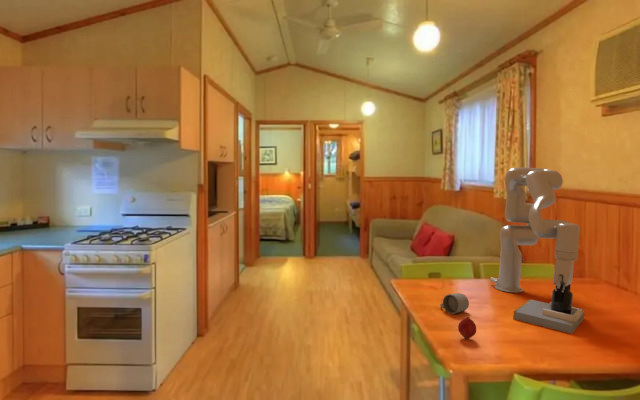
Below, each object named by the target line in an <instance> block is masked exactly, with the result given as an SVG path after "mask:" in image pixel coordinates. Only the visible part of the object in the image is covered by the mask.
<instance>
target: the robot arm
mask: <svg viewBox="0 0 640 400" xmlns="http://www.w3.org/2000/svg"><path fill="white" fill-rule="evenodd" d="M563 182H564V179H563V176H562V174H561V173H560V172H559V171H558V170H553V169H547V168H542V167H541V168H540V167H512V168H509V169H508V170H507V171H506V173H505V177H504V185H505V190H506V191H505V192H506V196H505V209H504V217H505V220H506V221H507V222H508V223H509V222H510V223H516V224H507V225H504V226H502V227H501V228H500V230H499V241H500V255H499V270H498V277H496V278H495V277H490V278H489V281H490V282H491V283H495V284H494V288H495V289H496V290H498V291H501V292H506V293H512V294H513V293H515V294H518V293H523V292H524V289H523V287H522V286H521V275H522V274H521V273H522V258H523V254H522V252H521V250H520V249H519V246H534V245H537V244H538V241H539V239H552V240H554V239H555V250H554V255H553V256H554V259H556V260H555V263H554V272H553V278H552V284H553V285H555V288H554V289H555V295H554V301H557V302H561V303H563V302H564V296H565V292H564V289H565V287H566V286H568V285H569V284H570V285H572V282H573V277H574V276H573V275H574V262H577V261H578V254H579V244H580V236H581V235H580V233H581V227H580V225H579V224H578V223H577V224H576V223H574V222H573V223H571V222H570V221H568V220H564V219H561V220H560V219H543V218H542V210H544V209H546V208H548V207H550V206H553V205H554V204H555V202H556V200H557V196H556V194H555V192H554V191H556V190H557V191H558V190H559V189H560V188H562V186H563V184H564V183H563ZM524 187H527V190H529V193H530V196H531V198H532V201H533V203H530V202H529V203H528V202H526V201H527V200H526V199H527V193H526V191H525V189H524ZM517 223H518V224H517ZM522 224H524V225H522ZM556 283H557V284H556ZM562 287H563V288H562ZM570 288H571V286H570Z"/></svg>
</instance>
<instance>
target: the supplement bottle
mask: <svg viewBox="0 0 640 400" xmlns="http://www.w3.org/2000/svg"><path fill="white" fill-rule="evenodd" d="M556 284H557V283H556ZM556 284H555V285H556ZM570 284H571V283H570ZM570 284H569V285H568V286H566V287H565V289H564V292H565V296H564V302H563V303H561V302H557V301H554V295H555V288H554V289H552V294H551V302H552V303H551V310H552V311H556V312H561V313H565V314H569V315H571V310H572V307H573V296H574V293H573V292H572V291H571V288H570V287H571V285H572V284H571V285H570ZM562 288H563V287H562Z"/></svg>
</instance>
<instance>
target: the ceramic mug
mask: <svg viewBox="0 0 640 400" xmlns="http://www.w3.org/2000/svg"><path fill="white" fill-rule="evenodd" d="M439 305H440V308H441V309H442V308H443V309H444V311H445V312H446V313H448V314H451V315H454V314H458V313H461V312H464V311H466V310H467V309H468V308H469V305H470V301H469V298H468V297H467V296H466V295H465V294H463V293H460V292H457V293H448V294H446V295H445V296H444V297H443V298H442V303H440V304H439Z"/></svg>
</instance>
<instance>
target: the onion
mask: <svg viewBox="0 0 640 400" xmlns="http://www.w3.org/2000/svg"><path fill="white" fill-rule="evenodd" d="M457 329H458V332H459V334H460V335H461V336H462V337H463V338H464V339H465V340H468V339H471V338H473V336H475V335H476V333H477V325H476V323H475V322H474V321H473V319H471V318H470V315H469V316H465V318H462V319H461V321H459V322H458V326H457Z"/></svg>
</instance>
